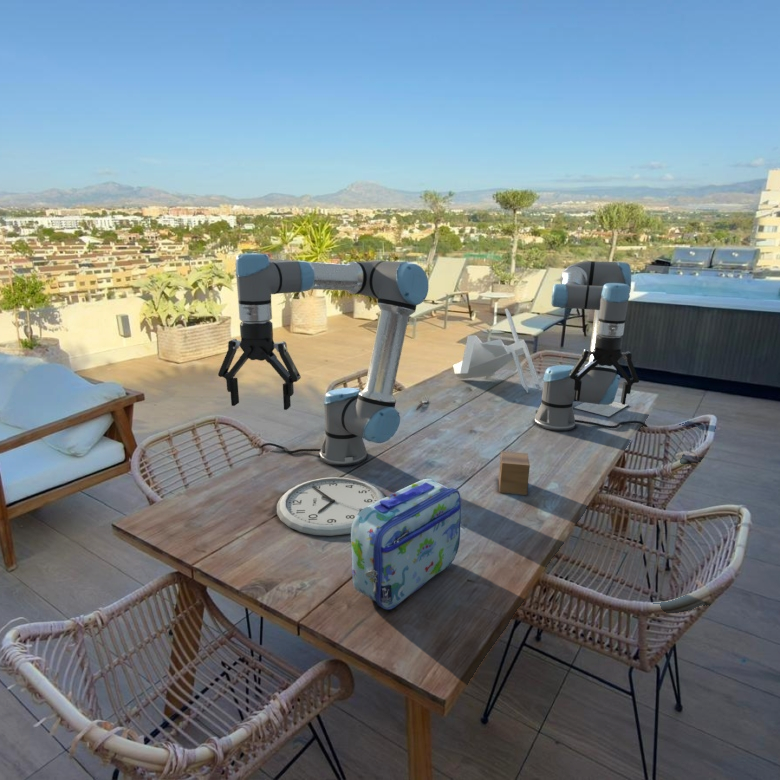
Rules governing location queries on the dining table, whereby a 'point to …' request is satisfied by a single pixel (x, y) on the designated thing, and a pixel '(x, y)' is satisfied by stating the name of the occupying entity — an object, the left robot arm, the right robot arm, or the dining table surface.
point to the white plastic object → (494, 357)
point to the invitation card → (601, 408)
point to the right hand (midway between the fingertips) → (599, 401)
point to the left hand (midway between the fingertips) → (261, 406)
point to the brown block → (514, 473)
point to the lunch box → (405, 541)
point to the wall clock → (326, 505)
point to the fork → (423, 402)
